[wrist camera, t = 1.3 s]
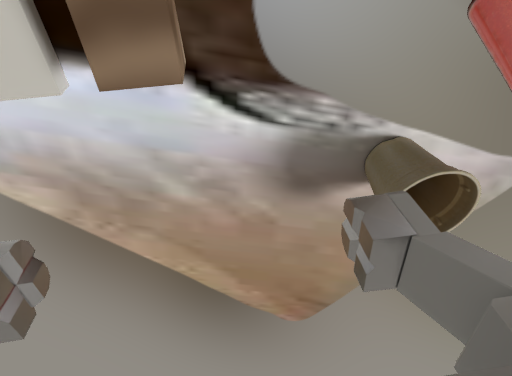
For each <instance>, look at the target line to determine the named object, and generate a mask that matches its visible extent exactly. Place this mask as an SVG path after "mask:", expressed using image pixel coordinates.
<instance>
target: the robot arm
mask: <svg viewBox="0 0 512 376" xmlns="http://www.w3.org/2000/svg"><path fill="white" fill-rule="evenodd" d="M343 211H344V213H345V215H346V217H347V219H346V220H345V221H344V222H343V223H342V230H341V235H342V243H343V246H344V250H345V252H346V255H347V257H348V258H349V259H351V260H352V261H354V262H355V266H354V273H355V275H356V277H357V279H358V281H359V284H360V286H361V288H362V290H363V292H368V291H377V290H386V289H395V288H397V291H399V292H400V293H401V294H402V295H404V296H405V297H406V298H407V299H409V300H410V301H411V302H412V303H414V304H415V305H416V306H417V307H418V308H420V309H421V310H422V311H423V312H425V313H426V314H427V315H428V316H430V317H431V318H432V319H434V320H435V321H436V322H437V323H439V324H440V325H441V326H442V327H443V328H445V329H446V330H447V331H448V332H450V333H451V334H452V335H453V336H455V337H456V338H457V339H458V340H460V341H461V342H462V343H463V344H465V347H464V349H463V351H462V352H461V354H460V356H459V358H458V359H457V361H456V364H455V366H454V368H455V370H456V371H457V373H458V374H453V375H447V376H512V262H510V261H508V260H506V259H504V258H502V257H500V256H498V255H496V254H493V253H491V252H489V251H487V250H485V249H483V248H481V247H479V246H476V245H474V244H472V243H470V242H468V241H466V240H464V239H462V238H459V237H457V236H455V235H453V234H451V233H449V232H440V231H439V230H438V228H437V227H436V226H435V225H434V224H433V222H432V221H431V220H430V219H429V218H428V216H427V215H426V214H425V213H424V212H423V210H422V209H421V208H420V207H419V206H418V205H417V203H416V202H415V201H414V200H413V199H412V197H411V196H410V195H409V194H408V193H407V192H405V191H396V192H389V193H384V194H378V195H371V196H363V197H356V198H348V199H346V201H345V203H344V210H343ZM34 253H35V250H34V248H33V247H32V245H31V244H30V243H29V241H25V240H14V241H5V242H0V343H4V342H10V341H16V340H22V339H24V338H25V336H26V334H27V332H28V330H29V328H30V325H31V324H32V322H33V319H34V318H35V316H36V311H35V308H34V307H35V306H36V305H37V304H38V303H39V302H41V301H42V300H43V299H44V298H45V296H46V294H47V291H48V289H49V283H50V275H49V271H48V268H47V267H46V265H45V264H44V262H42V261H40V260H38V259H36V258H34V257H33V256H34Z"/></svg>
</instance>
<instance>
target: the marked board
mask: <svg viewBox="0 0 512 376" xmlns="http://www.w3.org/2000/svg"><path fill="white" fill-rule="evenodd" d="M68 87H69V83H68V81H67V79H66V76H65V74H64V72H63V69H62V67H61V65H60V62H59V60H58V58H57V55H56V53H55V51H54V48H53V46H52V44H51V41H50V39H49V37H48V34H47V32H46V30H45V27H44V25H43V23H42V20H41V18H40V16H39V13H38V11H37V9H36V6H35V4H34V2H33V0H0V101H5V100H15V99H26V98H36V97H46V96H57V95H62V94H63V93H64V91H65V90H66V89H67V88H68Z"/></svg>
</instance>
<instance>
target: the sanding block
mask: <svg viewBox="0 0 512 376" xmlns="http://www.w3.org/2000/svg"><path fill="white" fill-rule="evenodd" d="M66 3H67V6H68V8H69V11H70V14H71V16H72V19H73V22H74V24H75V27H76V30H77V32H78V35H79V38H80V41H81V43H82V46H83V49H84V51H85V54H86V57H87V59H88V62H89V65H90V67H91V70H92V73H93V75H94V78H95V81H96V83H97V86H98V89H99V92H101V91H112V90H122V89H132V88H143V87H153V86H164V85H174V84H183V79H184V71H185V63H186V62H185V56H184V51H183V45H182V40H181V35H180V29H179V24H178V18H177V13H176V8H175V2H174V0H66Z"/></svg>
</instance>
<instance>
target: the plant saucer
mask: <svg viewBox="0 0 512 376" xmlns="http://www.w3.org/2000/svg"><path fill="white" fill-rule="evenodd" d="M467 15H468V18H469V20H470V22H471V24H472V25H473V27H474V28H475V30H476V32H477V34H478V35H479V37H480V39H481V40H482V42H483V44H484V45H485V47H486V49H487V50H488V52H489V54H490V55H491V57H492V59H493V61H494V62H495V64H496V66H497V67H498V69H499V71H500V72H501V74H502V76H503V77H504V79H505V81H506V83H507V84H508V86H509V88H510V90H511V91H512V0H472V2H471V4H470V5H469V7H468V12H467Z"/></svg>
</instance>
